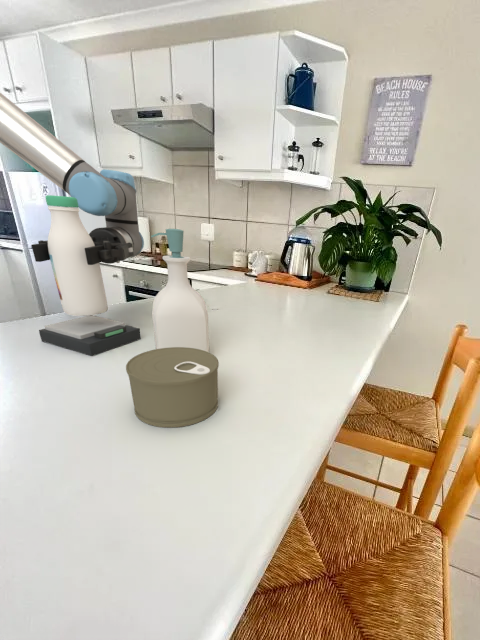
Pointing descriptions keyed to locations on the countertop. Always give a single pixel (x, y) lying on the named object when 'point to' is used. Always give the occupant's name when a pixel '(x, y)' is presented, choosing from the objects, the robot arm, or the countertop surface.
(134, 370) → the can
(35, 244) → the robot arm
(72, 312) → the milk bottle
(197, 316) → the soap bottle
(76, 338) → the kitchen scale
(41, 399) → the countertop surface
